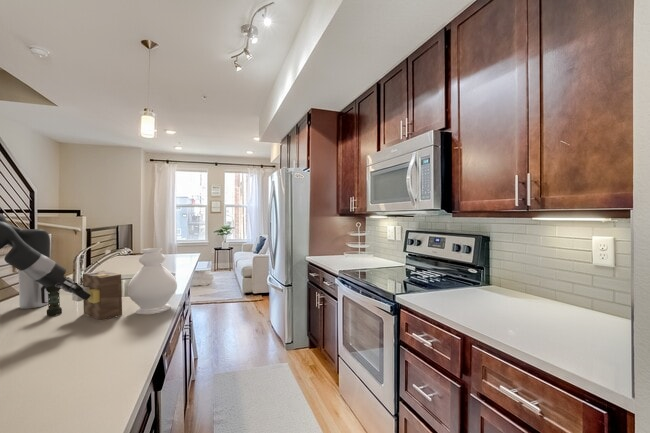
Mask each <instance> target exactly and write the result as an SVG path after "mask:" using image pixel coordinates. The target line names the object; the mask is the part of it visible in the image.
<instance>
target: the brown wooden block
mask: <svg viewBox="0 0 650 433" xmlns="http://www.w3.org/2000/svg"><path fill="white" fill-rule="evenodd" d="M84 286H85V287H89V288H90V289H99V290H100V302H98V303H91V302H88V300H83V301H82V302H83V315H85V316H88V317H90V318H93V319H95V320H99V321H101V322H104V321H106V320H110V319H113V317H114V318H117V317H120V316H123V299H122V298H123V296H122V294H123V291H122V274H121V273H115V272H110V271H105V270H100V271H92V272H86V273H82V287H84ZM116 316H117V317H116Z"/></svg>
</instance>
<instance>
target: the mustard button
mask: <svg viewBox="0 0 650 433" xmlns="http://www.w3.org/2000/svg"><path fill="white" fill-rule="evenodd" d="M88 294H90V297H89V298H88V302H91V303H98V302H100V290H99V289H90V290H88Z"/></svg>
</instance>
